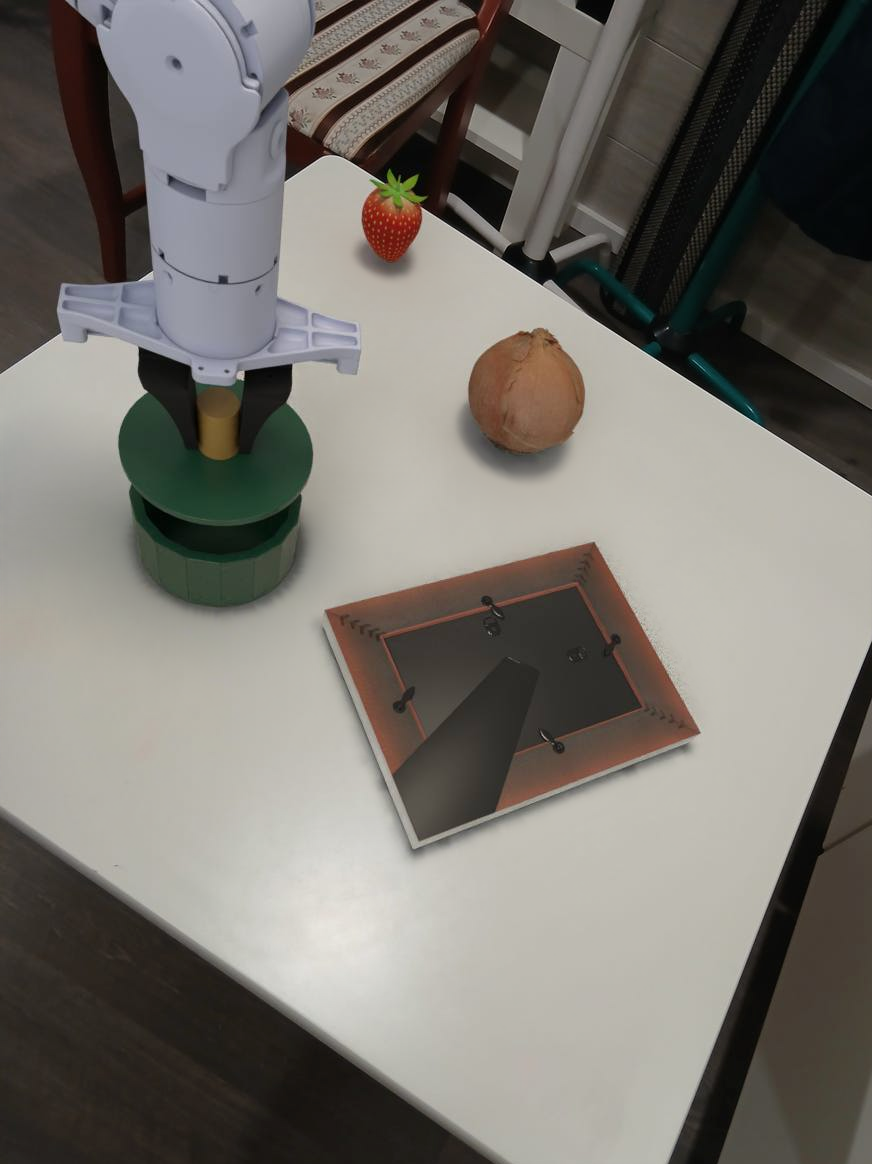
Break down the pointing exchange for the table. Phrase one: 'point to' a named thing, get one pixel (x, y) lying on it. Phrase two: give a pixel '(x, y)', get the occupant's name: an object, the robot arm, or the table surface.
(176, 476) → the tin lid
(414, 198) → the fruit
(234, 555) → the tea tin
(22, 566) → the table surface
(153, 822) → the table surface
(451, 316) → the table surface
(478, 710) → the picture frame
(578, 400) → the onion
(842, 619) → the table surface
